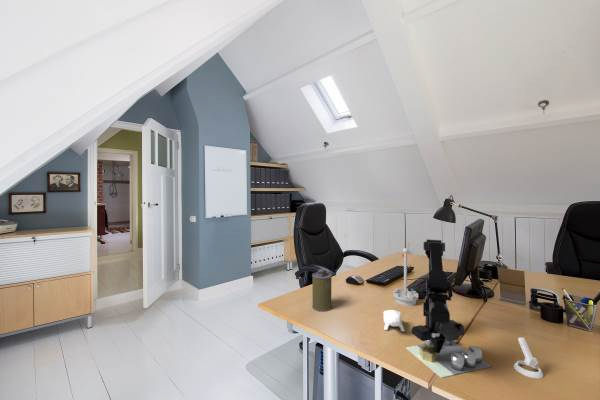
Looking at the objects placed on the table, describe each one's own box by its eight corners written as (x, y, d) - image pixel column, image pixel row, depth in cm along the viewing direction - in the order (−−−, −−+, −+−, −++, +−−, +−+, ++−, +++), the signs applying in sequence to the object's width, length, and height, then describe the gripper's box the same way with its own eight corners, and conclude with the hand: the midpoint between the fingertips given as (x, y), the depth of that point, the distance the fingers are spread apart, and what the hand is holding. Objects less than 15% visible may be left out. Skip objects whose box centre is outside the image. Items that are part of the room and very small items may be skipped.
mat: (405, 347, 106) (405, 347, 106) (449, 339, 112) (449, 339, 112) (441, 378, 89) (441, 377, 89) (491, 366, 94) (491, 365, 94)
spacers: (420, 344, 108) (421, 334, 108) (448, 339, 111) (448, 329, 111) (457, 372, 91) (457, 360, 91) (488, 365, 95) (488, 353, 94)
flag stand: (422, 306, 145) (422, 250, 144) (397, 306, 145) (397, 250, 144) (412, 297, 158) (412, 245, 157) (390, 297, 158) (390, 245, 157)
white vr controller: (512, 340, 101) (531, 337, 96) (529, 379, 94) (550, 378, 89) (498, 340, 99) (517, 336, 94) (514, 379, 92) (536, 378, 87)
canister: (325, 313, 137) (325, 273, 137) (308, 308, 143) (308, 270, 143) (335, 306, 146) (335, 269, 145) (319, 301, 152) (319, 266, 151)
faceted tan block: (417, 355, 100) (417, 347, 100) (428, 351, 103) (428, 343, 103) (428, 363, 96) (428, 355, 96) (439, 358, 98) (439, 350, 98)
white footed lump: (382, 328, 128) (385, 331, 114) (381, 309, 131) (385, 309, 117) (401, 330, 126) (407, 333, 112) (400, 310, 129) (406, 311, 115)
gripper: (433, 324, 90) (433, 371, 90) (477, 316, 95) (477, 361, 95) (410, 310, 100) (410, 352, 101) (451, 304, 105) (451, 344, 106)
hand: (437, 352), depth 100 cm, fingers closed
